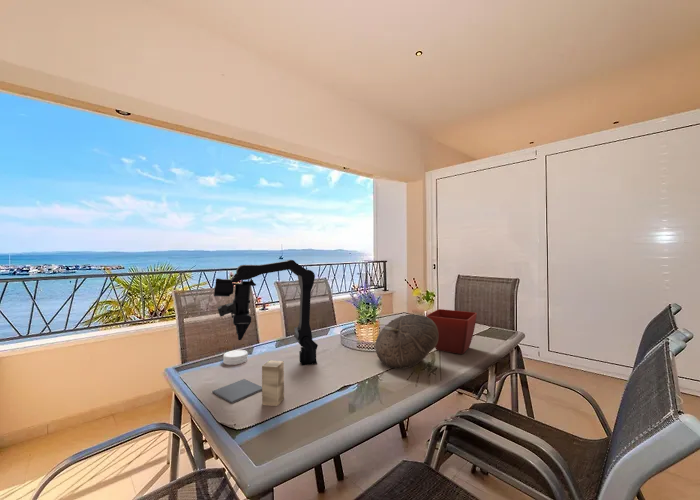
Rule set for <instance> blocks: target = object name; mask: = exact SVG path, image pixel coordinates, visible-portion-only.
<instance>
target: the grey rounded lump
mask: <svg viewBox="0 0 700 500" xmlns="http://www.w3.org/2000/svg"><path fill="white" fill-rule="evenodd" d="M438 338H439V335H438V329H437V326H436V324H435V323H434V322H433V320H431V319H430V318H428V317H427V315H426V316H425V315H420V314H405V315H400V316H397V317H395V318H394V319H391V320H390V322H388V323H387V324H385V325H384V326H383V328H382V329H381V330H380V332H379V333H378V336H377V337H376V340H375V353H376V354H377V355H376V356H377V358H378V360H380V362H381V363H383V364H384V365H385V366H387V367H389V368H392V369H407V368H411V367H414V366H416V365H417V364H419V363H420V362H422V361H423V360H424V359H425V358H426V356H427V355H428V354H429V353H431V352H432V350H434V349H436V348H435V346H436V345H437V343H438Z"/></svg>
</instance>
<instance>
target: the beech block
mask: <svg viewBox="0 0 700 500" xmlns="http://www.w3.org/2000/svg"><path fill="white" fill-rule="evenodd" d="M284 364H285V363H284V361H283V360H273V359H272V360H270V359H269V360H268V361H266V362H264V364H263V365H261V387H262V391H261V397H262V398H261V401H262V403H261V405H263V406H271V407H278V406H279V405H280V404H281V403H282V401H284V399H285V371H284V369H285V367H284V366H285V365H284Z"/></svg>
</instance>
